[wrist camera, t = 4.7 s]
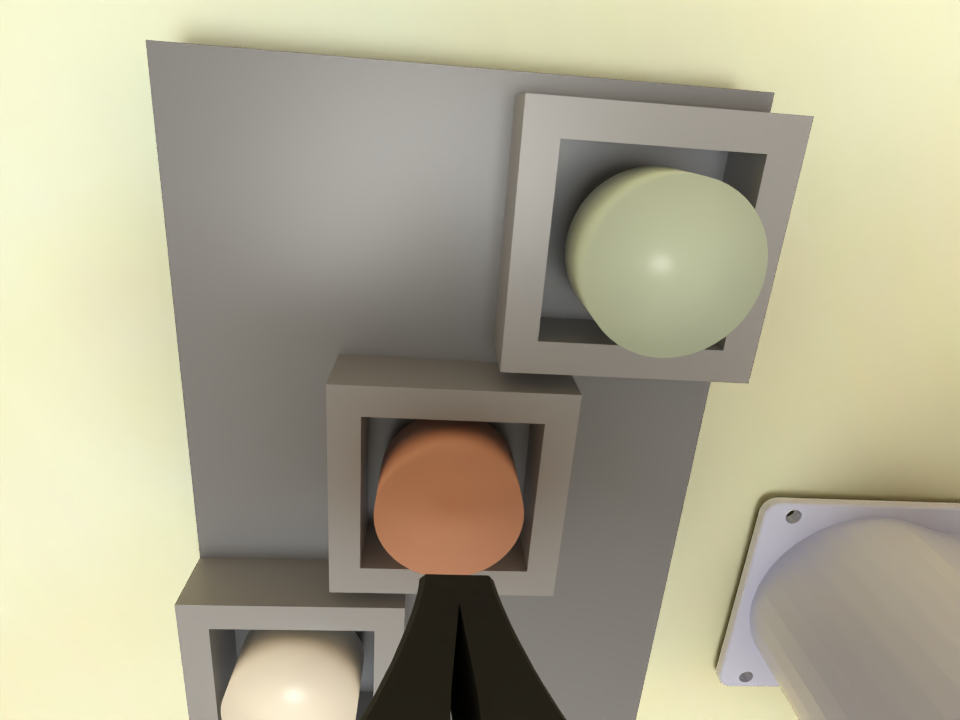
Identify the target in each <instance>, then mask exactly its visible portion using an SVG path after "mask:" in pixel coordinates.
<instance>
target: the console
mask: <svg viewBox="0 0 960 720" xmlns="http://www.w3.org/2000/svg"><path fill="white" fill-rule="evenodd" d="M146 47H147V57H148V66H149V76H150V85H151V95H152V104H153V114H154V123H155V133H156V142H157V152H158V161H159V171H160V180H161V190H162V199H163V209H164V218H165V228H166V237H167V247H168V256H169V266H170V275H171V285H172V294H173V304H174V313H175V323H176V332H177V342H178V351H179V361H180V370H181V380H182V389H183V399H184V408H185V418H186V427H187V437H188V446H189V456H190V465H191V475H192V484H193V494H194V503H195V513H196V522H197V532H198V541H199V551H200V559H199V561H198V563H197V564H196V566H195V568H194V570H193V572H192V574H191V576H190V577H189V579H188V581H187V583H186V585H185V587H184V589H183V590H182V592H181V594H180V596H179V598H178V600H177V602H176V603H175V611H176V619H177V627H178V635H179V643H180V651H181V658H182V666H183V674H184V682H185V690H186V698H187V706H188V713H189V720H222V718H221V704H222V700H223V697H224V695H225V692H226V689H227V687H228V684H229V681H230V679H231V676H232V673H233V670H234V668H235V665H236V662H237V660H238V657H239V654H240V652H241V649H242V646H243V643H244V641H245V638H246V636H247V634H248V633H249V631H250V630H328V631H355V633H356V634H357V635H358V637H359V639H360V641H361V643H362V646H363V650H364V663H363V670H362V677H361V685H360V692H359V699H358V706H357V713H356V720H361V718H362V716H363V714H364V713H365V711H366V709H367V707H368V706H369V704H370V702H371V700H372V698H373V697H374V695H375V693H376V691H377V689H378V687H379V685H380V683H381V681H382V679H383V677H384V675H385V673H386V671H387V669H388V667H389V665H390V663H391V661H392V659H393V657H394V655H395V652H396V650H397V647H398V645H399V643H400V640H401V638H402V636H403V633H404V631H405V629H406V626H407V623H408V621H409V618H410V615H411V612H412V609H413V606H414V603H415V599H416V595H417V591H418V586H419V579H420V578H421V577H422V576H424V575H423V574H420V573H417V572H415V571H412V570H410V569H408V568H406V567H405V566H403V565H401V564H400V563H399V562H397V561H396V560H395V559H394V558H393V557H392V556H391V555H390V554H388V552H387V551H386V550H385V548H384V547H383V546H382V544H381V542H380V540H379V538H378V536H377V533H376V529H375V525H374V506H375V501H376V495H377V489H378V483H379V477H380V471H381V465H382V460H383V456H384V454H385V451H386V449H387V447H388V445H389V444H390V442H391V441H392V439H393V438H394V437H395V436H396V435H397V434H398V433H399V432H400V431H401V430H402V429H403V428H405V427H406V426H407V425H409V424H410V423H412V422H414V421H416V420H418V419H429V420H454V421H480V422H486V423H487V424H489V425H490V426H492V427H493V428H494V429H496V430H497V431H498V432H499V433H500V434H501V435H502V437H503V438H504V439H505V440H506V442H507V444H508V445H509V447H510V449H511V452H512V454H513V458H514V462H515V467H516V472H517V476H518V481H519V486H520V491H521V495H522V500H523V506H524V521H523V526H522V529H521V532H520V535H519V537H518V539H517V541H516V543H515V544H514V545H513V547H512V548H511V550H510V551H509V552H508V553H507V554H506V555H505V556H504V557H503V558H502V559H500V560H499V561H498V562H497V563H495V564H494V565H492V566H490V567H489V568H487V569H485V570H483V571H480V572H477V573H475V574H471V575H489V576H490V577H491V578H492V579H493V580H494V583H495V586H496V589H497V592H498V595H499V597H500V600H501V602H502V605H503V607H504V610H505V612H506V614H507V616H508V618H509V621H510V623H511V625H512V627H513V629H514V631H515V633H516V635H517V637H518V639H519V641H520V643H521V645H522V647H523V649H524V650H525V652H526V654H527V656H528V658H529V660H530V661H531V663H532V665H533V667H534V669H535V670H536V672H537V674H538V676H539V677H540V679H541V681H542V682H543V684H544V686H545V687H546V689H547V690H548V692H549V694H550V695H551V697H552V698H553V700H554V702H555V703H556V705H557V706H558V708H559V709H560V711H561V712H562V714H563V715H564V717H565V718H566V720H636V716H637V712H638V707H639V702H640V698H641V693H642V689H643V684H644V680H645V675H646V671H647V666H648V662H649V657H650V653H651V648H652V644H653V639H654V635H655V630H656V626H657V621H658V617H659V612H660V608H661V603H662V599H663V594H664V590H665V585H666V581H667V576H668V571H669V567H670V562H671V558H672V553H673V549H674V544H675V540H676V535H677V531H678V526H679V522H680V517H681V513H682V508H683V504H684V499H685V495H686V490H687V486H688V481H689V477H690V472H691V468H692V463H693V459H694V454H695V450H696V445H697V441H698V436H699V431H700V427H701V422H702V418H703V413H704V409H705V404H706V400H707V395H708V391H709V386H710V382H730V383H749V379H750V375H751V371H752V367H753V363H754V358H755V354H756V350H757V346H758V342H759V338H760V334H761V330H762V326H763V322H764V318H765V314H766V310H767V305H768V301H769V297H770V293H771V289H772V285H773V281H774V277H775V273H776V269H777V265H778V261H779V256H780V252H781V248H782V244H783V240H784V236H785V232H786V228H787V224H788V220H789V216H790V212H791V207H792V203H793V199H794V195H795V191H796V187H797V183H798V179H799V175H800V171H801V167H802V163H803V159H804V154H805V150H806V146H807V142H808V138H809V134H810V130H811V126H812V122H813V118H814V116H803V115H791V114H778V113H770V111H771V106H772V102H773V97H774V93H772V92H760V91H749V90H737V89H725V88H713V87H701V86H689V85H677V84H665V83H653V82H641V81H629V80H617V79H606V78H594V77H582V76H570V75H558V74H546V73H534V72H522V71H510V70H498V69H486V68H474V67H462V66H451V65H439V64H427V63H415V62H403V61H391V60H379V59H367V58H355V57H343V56H331V55H319V54H308V53H296V52H284V51H272V50H260V49H248V48H236V47H224V46H212V45H200V44H188V43H176V42H164V41H153V40H146ZM643 166H664V167H670V168H674V169H678V170H682V171H687V172H691V173H695V174H699V175H703V176H707V177H710V178H714V179H717V180H720V181H722V182H724V183H726V184H728V185H730V186H731V187H733V188H734V189H736V190H737V191H739V192H740V193H741V194H742V195H743V196H744V197H745V198H746V199H747V200H748V201H749V202H750V204H751V205H752V206H753V207H754V209H755V210H756V212H757V214H758V216H759V217H760V219H761V222H762V225H763V227H764V230H765V234H766V239H767V246H768V265H767V270H766V276H765V279H764V283H763V286H762V289H761V291H760V293H759V296H758V298H757V300H756V302H755V303H754V305H753V307H752V309H751V310H750V312H749V313H748V314H747V316H746V317H745V318H744V320H743V321H742V322H741V323H740V324H739V325H738V326H737V327H736V328H735V329H734V330H733V331H732V332H730V333H729V334H728V335H727V336H726V337H724V338H723V339H721V340H720V341H718V342H717V343H715V344H713V345H712V346H710V347H708V348H706V349H704V350H701V351H698V352H696V353H693V354H689V355H685V356H681V357H673V358H655V357H647V356H643V355H639V354H636V353H634V352H631V351H629V350H627V349H625V348H623V347H621V346H619V345H618V344H617V343H615V342H614V341H613V340H611V339H610V338H609V337H608V336H607V335H606V334H605V333H604V332H603V331H602V330H601V328H600V327H599V326H598V324H597V323H596V322H595V320H594V319H593V318H592V316H591V315H590V313H589V312H588V311H587V309H586V308H585V307H584V305H583V304H582V303H581V301H580V300H579V298H578V297H577V296H576V294H575V293H574V291H573V289H572V287H571V285H570V282H569V279H568V276H567V272H566V267H565V243H566V238H567V233H568V230H569V227H570V224H571V222H572V220H573V217H574V215H575V213H576V212H577V210H578V208H579V207H580V205H581V204H582V203H583V201H584V200H585V199H586V198H587V196H588V195H589V194H590V193H591V192H592V191H593V190H594V189H595V188H596V187H598V186H599V185H600V184H602V183H603V182H604V181H606V180H607V179H609V178H611V177H612V176H614V175H616V174H618V173H621V172H623V171H626V170H629V169H633V168H636V167H643ZM451 720H452V717H451Z"/></svg>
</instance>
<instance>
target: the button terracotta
mask: <svg viewBox="0 0 960 720" xmlns="http://www.w3.org/2000/svg"><path fill="white" fill-rule="evenodd" d="M523 521H524V506H523V500H522V495H521V491H520V486H519V481H518V476H517V472H516V467H515V462H514V458H513V454H512V452H511V449H510V447H509V445H508V444H507V442H506V440H505V439H504V438H503V437H502V435H501V434H500V433H499V432H498V431H497V430H496V429H494V428H493V427H492V426H490V425H489V424H487V423H486V422H480V421H454V420H429V419H418V420H416V421H414V422H412V423H410V424H409V425H407V426H406V427H405V428H403V429H402V430H401V431H400V432H399V433H398V434H397V435H396V436H395V437H394V438H393V439H392V441H391V442H390V444H389V445H388V447H387V449H386V451H385V454H384V456H383V460H382V465H381V471H380V477H379V483H378V489H377V495H376V501H375V506H374V525H375V529H376V533H377V536H378V538H379V540H380V542H381V544H382V546H383V547H384V548H385V550H386V551H387V552H388V554H390V555H391V556H392V557H393V558H394V559H395V560H396V561H397V562H399V563H400V564H401V565H403V566H405V567H406V568H408V569H410V570H412V571H415V572H417V573H420V574H423V575H425V574H446V575H471V574H475V573H477V572H480V571H483V570H485V569H487V568H489V567H490V566H492V565H494V564H495V563H497V562H498V561H499V560H500V559H502V558H503V557H504V556H505V555H506V554H507V553H508V552H509V551H510V550H511V548H512V547H513V545H514V544H515V543H516V541H517V539H518V537H519V535H520V532H521V529H522V526H523Z"/></svg>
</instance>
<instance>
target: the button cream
mask: <svg viewBox="0 0 960 720" xmlns="http://www.w3.org/2000/svg"><path fill="white" fill-rule="evenodd" d="M363 663H364V650H363V646H362V643H361V641H360V639H359V637H358V635H357V634H356V633H355V631H328V630H250V631H249V633H248V634H247V636H246V638H245V641H244V643H243V646H242V649H241V652H240V654H239V657H238V660H237V662H236V665H235V668H234V670H233V673H232V676H231V679H230V681H229V684H228V687H227V689H226V692H225V695H224V697H223V700H222V704H221V718H222V720H356V713H357V706H358V699H359V692H360V685H361V677H362V670H363Z"/></svg>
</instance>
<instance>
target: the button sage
mask: <svg viewBox="0 0 960 720" xmlns="http://www.w3.org/2000/svg"><path fill="white" fill-rule="evenodd" d="M767 265H768V246H767V239H766V234H765V230H764V227H763V225H762V222H761V219H760V217H759V216H758V214H757V212H756V210H755V209H754V207H753V206H752V205H751V204H750V202H749V201H748V200H747V199H746V198H745V197H744V196H743V195H742V194H741V193H740V192H739V191H737V190H736V189H734V188H733V187H731V186H730V185H728V184H726V183H724V182H722V181H720V180H717V179H714V178H710V177H707V176H703V175H699V174H695V173H691V172H687V171H682V170H678V169H674V168H670V167H664V166H643V167H636V168H633V169H629V170H626V171H623V172H621V173H618V174H616V175H614V176H612V177H611V178H609V179H607V180H606V181H604V182H603V183H602V184H600V185H599V186H598V187H596V188H595V189H594V190H593V191H592V192H591V193H590V194H589V195H588V196H587V198H586V199H585V200H584V201H583V203H582V204H581V205H580V207H579V208H578V210H577V212H576V213H575V215H574V217H573V220H572V222H571V224H570V227H569V230H568V233H567V238H566V243H565V267H566V272H567V276H568V279H569V282H570V285H571V287H572V289H573V291H574V293H575V294H576V296H577V297H578V298H579V300H580V301H581V303H582V304H583V305H584V307H585V308H586V309H587V311H588V312H589V313H590V315H591V316H592V318H593V319H594V320H595V322H596V323H597V324H598V326H599V327H600V328H601V330H602V331H603V332H604V333H605V334H606V335H607V336H608V337H609V338H610V339H611V340H613V341H614V342H615V343H617V344H618V345H619V346H621V347H623V348H625V349H627V350H629V351H631V352H634V353H636V354H639V355H643V356H647V357H655V358H673V357H681V356H685V355H689V354H693V353H696V352H698V351H701V350H704V349H706V348H708V347H710V346H712V345H713V344H715V343H717V342H718V341H720V340H721V339H723V338H724V337H726V336H727V335H728V334H729V333H730V332H732V331H733V330H734V329H735V328H736V327H737V326H738V325H739V324H740V323H741V322H742V321H743V320H744V318H745V317H746V316H747V314H748V313H749V312H750V310H751V309H752V307H753V305H754V303H755V302H756V300H757V298H758V296H759V293H760V291H761V289H762V286H763V283H764V279H765V276H766V270H767Z"/></svg>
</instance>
